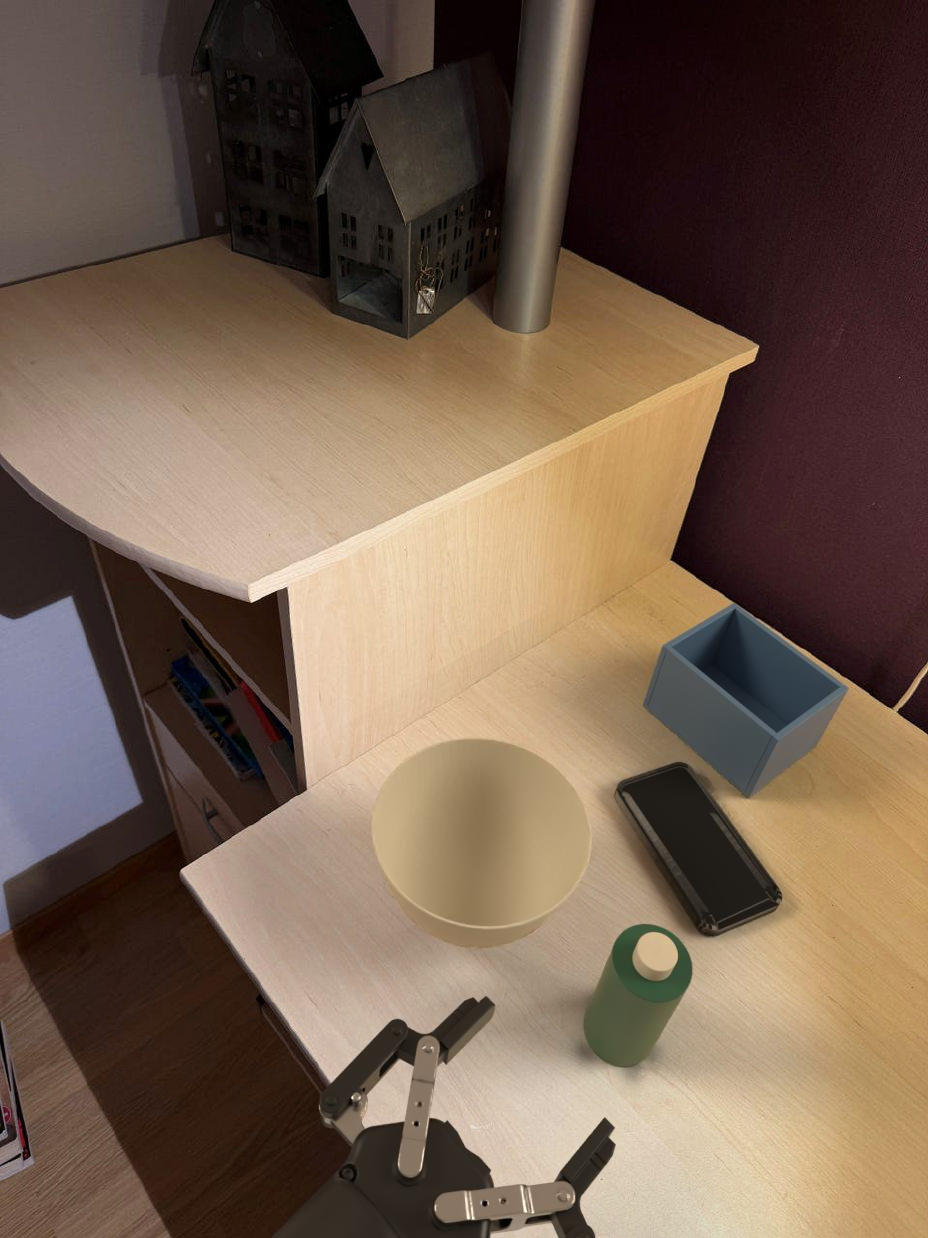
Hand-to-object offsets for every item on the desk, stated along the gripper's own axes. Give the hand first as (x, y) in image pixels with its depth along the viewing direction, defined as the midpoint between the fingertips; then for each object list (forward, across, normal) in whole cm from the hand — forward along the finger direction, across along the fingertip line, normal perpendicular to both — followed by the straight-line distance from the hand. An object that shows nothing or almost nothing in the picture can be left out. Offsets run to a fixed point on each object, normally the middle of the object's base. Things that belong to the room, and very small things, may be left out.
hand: (546, 1063), depth 49 cm
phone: (+28, +5, +15) cm, 32 cm away
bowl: (+11, +15, +15) cm, 24 cm away
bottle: (+11, 0, +15) cm, 19 cm away
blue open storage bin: (+42, +10, +15) cm, 46 cm away
